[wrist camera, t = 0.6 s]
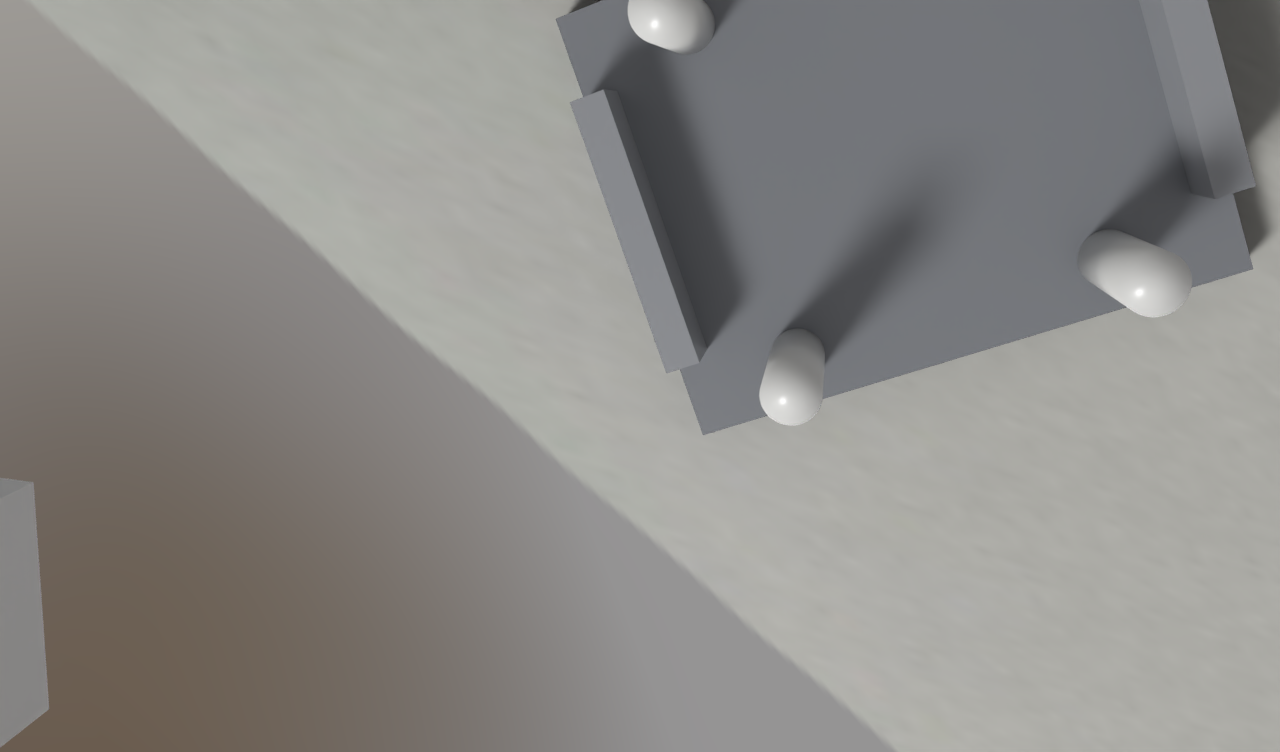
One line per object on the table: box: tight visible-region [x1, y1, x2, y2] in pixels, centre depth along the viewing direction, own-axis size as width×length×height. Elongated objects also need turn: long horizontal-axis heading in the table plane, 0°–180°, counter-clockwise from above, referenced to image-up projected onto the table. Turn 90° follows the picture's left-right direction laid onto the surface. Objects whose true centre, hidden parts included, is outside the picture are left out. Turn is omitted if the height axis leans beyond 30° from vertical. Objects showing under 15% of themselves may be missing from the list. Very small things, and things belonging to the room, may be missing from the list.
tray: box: [556, 0, 1256, 435], centre depth 30 cm, size 13×16×6 cm
